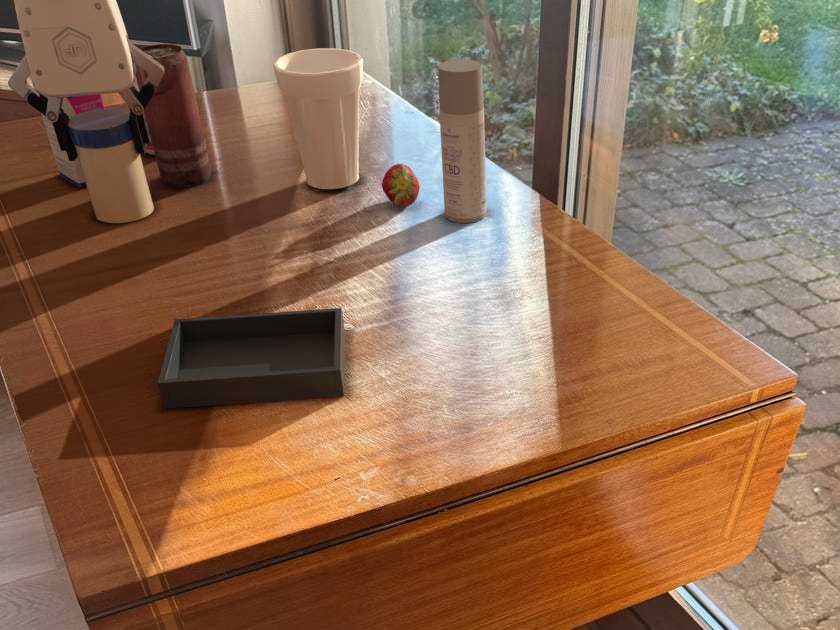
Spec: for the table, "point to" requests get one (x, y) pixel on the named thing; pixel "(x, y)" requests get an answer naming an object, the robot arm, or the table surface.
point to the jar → (116, 182)
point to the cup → (324, 112)
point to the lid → (100, 128)
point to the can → (175, 120)
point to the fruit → (401, 185)
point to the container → (462, 140)
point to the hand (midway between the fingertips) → (108, 152)
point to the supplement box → (65, 167)
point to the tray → (254, 358)
